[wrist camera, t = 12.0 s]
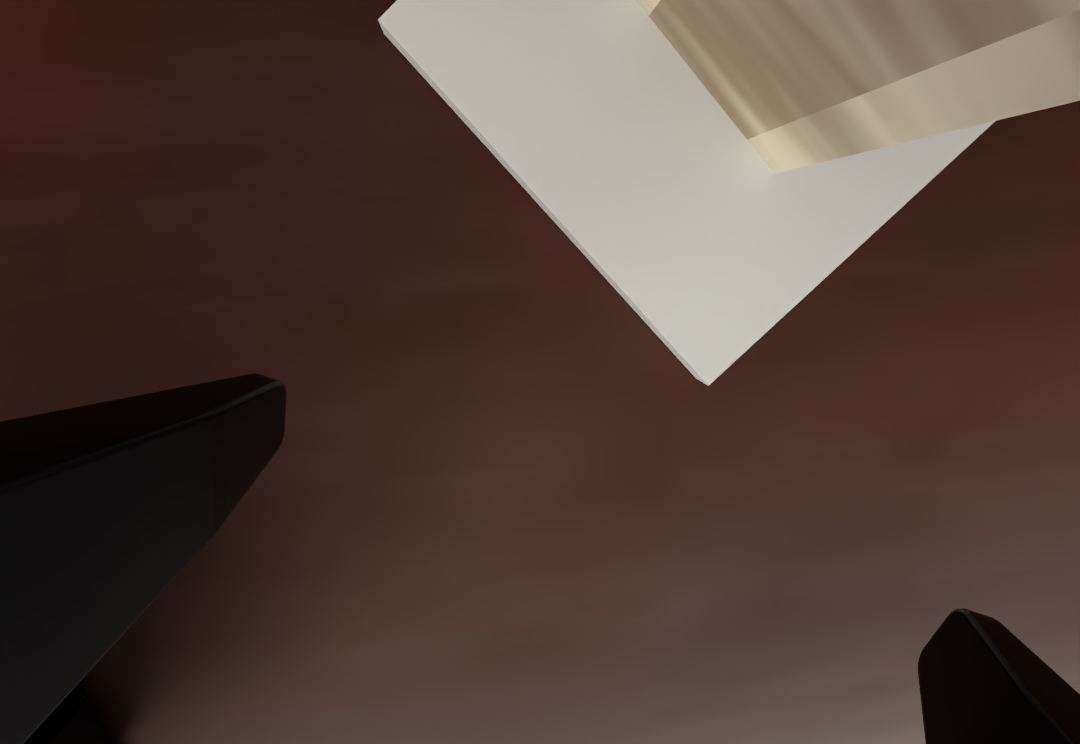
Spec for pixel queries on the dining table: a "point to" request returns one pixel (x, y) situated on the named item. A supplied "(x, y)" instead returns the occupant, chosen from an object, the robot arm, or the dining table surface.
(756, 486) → the dining table surface
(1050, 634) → the dining table surface
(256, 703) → the dining table surface
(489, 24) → the post plate
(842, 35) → the beech collar
